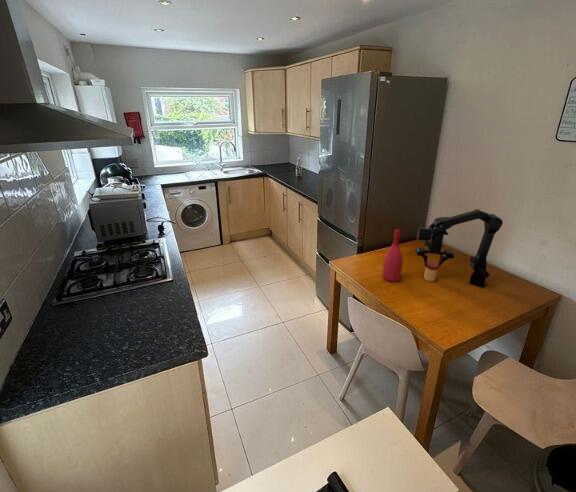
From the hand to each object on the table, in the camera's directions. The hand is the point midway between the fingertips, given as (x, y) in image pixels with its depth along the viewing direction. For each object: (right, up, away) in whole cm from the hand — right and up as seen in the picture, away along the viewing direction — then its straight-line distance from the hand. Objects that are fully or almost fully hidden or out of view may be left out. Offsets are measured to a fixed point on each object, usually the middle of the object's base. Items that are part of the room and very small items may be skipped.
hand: (431, 266), depth 169 cm
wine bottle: (-22, -7, +3) cm, 23 cm away
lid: (0, +1, 0) cm, 1 cm away
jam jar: (0, -7, +3) cm, 8 cm away
